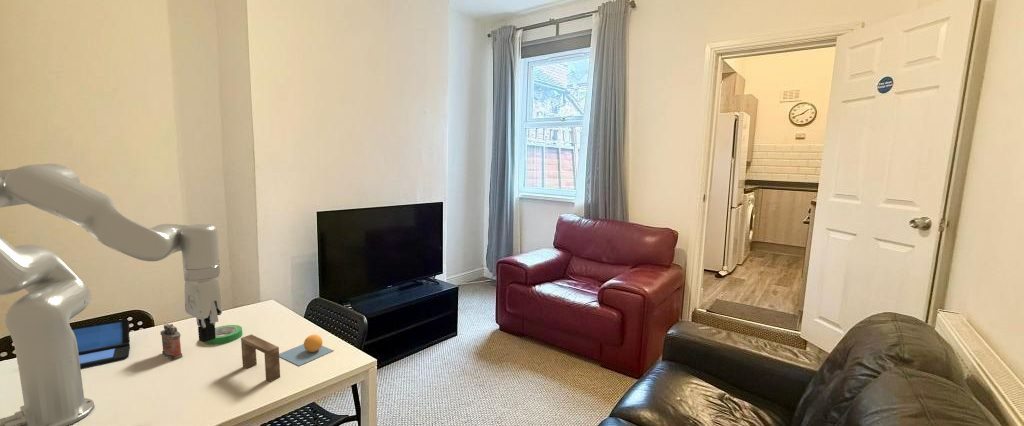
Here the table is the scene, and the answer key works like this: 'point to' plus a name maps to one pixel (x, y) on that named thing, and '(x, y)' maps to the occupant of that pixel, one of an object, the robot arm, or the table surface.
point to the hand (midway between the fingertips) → (207, 339)
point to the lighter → (171, 342)
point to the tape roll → (234, 335)
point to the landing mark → (303, 354)
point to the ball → (313, 343)
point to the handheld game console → (102, 342)
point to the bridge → (270, 352)
